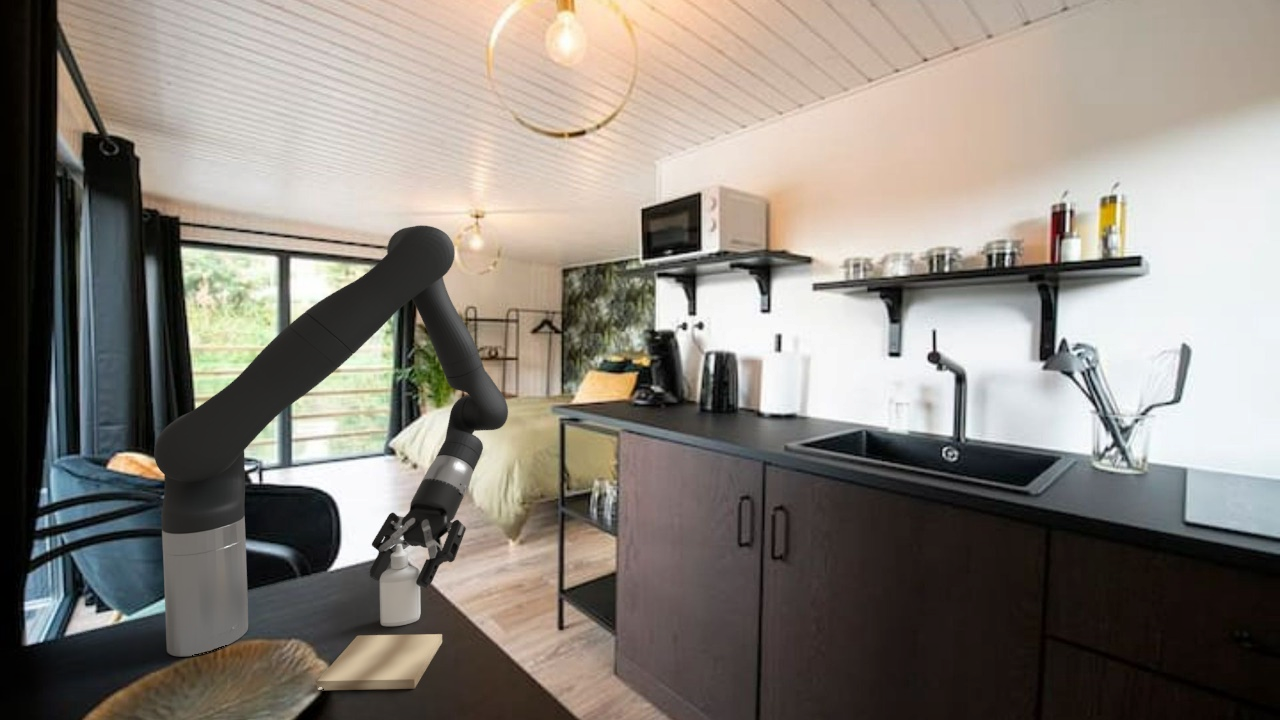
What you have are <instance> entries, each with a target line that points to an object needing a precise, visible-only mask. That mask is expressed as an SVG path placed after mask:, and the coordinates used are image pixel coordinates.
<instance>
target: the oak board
mask: <svg viewBox="0 0 1280 720" xmlns="http://www.w3.org/2000/svg"><path fill="white" fill-rule="evenodd" d="M442 643H443V634H442V633H437V634H436V633H435V634H430V633H429V634H428V633H426V634H377V635H376V634H372V635H371V634H370V635H368V634H367V635H366V634H365V635H357V636H355V638H354V639H353V640H352V641H351V642H350V644H349V645H348V646H347V647H346V648H345V649H344V650H343V651H342V653H340V655H339V656H337V658H336V659H335V660H334V661H333V663H332V664H330V666H329V667H327V669H326V670H325V671H324V672H323V674H322V675H321V676H320V677H319V678H318V679H317V681H316V689H317V688H319V687H322V688H324V690H323V691H353V690H354V691H355V690H363V691H365V690H408V689H410V690H411V689H413V690H414V689H416V687H417V686H418V683H419V682H420V680H421V678H422V677H423V675H424V674H425V672H426V670H427V668H428V667H429V665H430V663H431V661H432V660H433V659H434V657H435V655H436V654H437V652H438V651H439V649H440V646H442Z"/></svg>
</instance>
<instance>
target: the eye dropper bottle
mask: <svg viewBox="0 0 1280 720" xmlns="http://www.w3.org/2000/svg"><path fill="white" fill-rule="evenodd" d="M420 572H421V570H419V568H418V567H416V566H413V565H410V564H409V551H408V550H405V549H403V547H402V544H397V547H396V551H395V552H394V553H392V554H391V562H390V568H387V569H386V571H384V572H383V573H382V575H381V577H380V581H379V617H380V619H379V620H380V625H381V626H383V627H399V626H400V627H401V626H405V625H409V624H413V623H416V622H417V621H419V619H420V618H421V612H422V611H421V609H422V608H421V587H420V586H418V585H417V584H416V581H417V579H418V576H419V574H420Z"/></svg>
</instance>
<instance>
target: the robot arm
mask: <svg viewBox="0 0 1280 720" xmlns="http://www.w3.org/2000/svg"><path fill="white" fill-rule="evenodd" d="M386 252H387V253H386V255H385V256H384V257H383V258H382V259H381V260H380V261H379V262H378V263H377V264H375V266H373V267H372V268H371V269H370V270H369V271H367V272H366V273H365V274H363V275H362V276H360V277H359V278H357V279H356V280H354V281H352V282H351V283H348V284H347V285H345V286H343V287H341V288H340V289H338V290H336V291H333V293H331V294H329V295H327V296H326V297H324V298H323V299H321V300H320V301H318V302H317V303H315V304H313V306H311V307H310V308H308V309H307V310H306V311H304V312H303V313H302V314H301V315H299V316H298V317H297V318H296V319H294V320H293V321H292V322H291V323H290V324H289V325H287V326H286V327H285V328H284V329H283V330H281V331H280V333H279V334H278V335H276V336H275V337H274V338H273V339H272V340H271V342H269V343H268V344H267V345H265V347H264V348H263V349H262V350H261V352H259V354H257V356H256V357H255V358H254V359H253V360H252V361H251V362H250V364H248V365H247V367H246V368H245V369H244V370H243V371H242V372H241V373H240V374H239V375H238V376H237V377H236V378H235V379H234V380H233V381H232V382H230V383H228V385H226V386H225V387H224V388H222V389H221V390H220V391H218V392H216V394H214V395H213V396H212V397H210V398H209V399H207V400H206V401H205V402H203V403H202V404H200V405H199V406H198V407H195V409H193V410H191V411H190V412H187V413H185V414H182V415H181V416H178V418H176V419H174V420H173V421H172V422H171V423H169V424H168V425H167V426H166V427H164V429H163V430H162V431H161V432H160V434H159V435H158V437H157V439H156V442H155V445H154V452H153V454H154V455H153V456H154V460H155V464H156V466H157V468H158V469H159V471H161V473H162V474H163V477H164V492H163V501H162V507H161V508H162V509H161V521H160V522H161V538H162V541H161V542H162V543H161V544H162V556H163V557H162V558H163V559H162V563H163V564H162V565H163V583H164V584H163V585H164V613H165V637H166V639H165V640H166V642H165V643H166V652H167V654H168V655H171V656H173V657H180V658H181V657H192V655H193V656H195V655H194V654H198V653H201V652H205V651H207V650H212V649H214V648H218V647H221V646H224V647H226V646H225V645H227V646H228V645H230V644H232V643H234V642H236V641H238V640H239V639H240V638H242V637H243V636H244V635H245V634H246V633H247V631H249V630H248V629H249V609H248V608H249V607H248V605H249V604H248V601H249V600H248V576H247V575H248V572H247V568H248V567H247V548H246V547H247V545H246V540H247V539H246V522H245V521H246V520H245V519H246V517H245V516H246V515H245V514H246V513H245V498H246V479H245V478H246V477H245V476H246V472H245V450H246V448H248V446H250V444H251V443H252V442H253V441H254V440H255V439H256V437H258V436H259V434H260V433H261V432H263V430H265V428H266V427H267V426H268V425H269V424H270V423H271V422H272V421H273V420H274V419H276V417H277V416H279V415H280V414H281V413H283V411H285V410H286V409H287V408H288V407H290V406H291V405H292V404H294V403H295V402H297V401H298V400H300V399H301V398H302V397H304V396H305V395H306V394H308V392H310V391H312V390H313V389H314V388H315V387H317V386H318V385H320V384H321V383H322V382H323V381H324V380H326V378H327V377H329V376H330V375H331V374H333V373H334V372H335V371H336V370H337V369H339V368H340V367H341V366H342V365H343V364H344V363H345V362H346V361H348V359H349V358H351V357H352V356H353V355H354V354H356V353H357V351H358V350H360V348H361V347H362V346H364V345H365V344H366V342H368V341H369V340H370V339H371V338H372V337H373V336H374V335H375V334H376V333H378V331H379V330H380V329H381V328H382V327H383V326H384V325H385V324H386V323H387V322H388V321H389V320H390V319H391V318H392V317H393V316H394V315H395V314H396V313H397V312H398V311H399V310H400V309H401V308H402V307H403V306H404V305H407V303H409V302H410V301H411V300H412V302H413V304H414V306H415V307H416V309H417V312H418V314H419V315H420V318H421V320H422V322H423V325H424V327H425V329H426V331H427V333H428V336H429V338H430V341H431V343H432V346H433V348H434V351H435V354H436V356H437V358H438V361H439V364H440V365H441V368H442V372H443V373H444V376H445V378H446V381H447V383H448V385H449V387H451V389H454V390H457V391H461V392H464V393H466V394H467V395H463V396H461V397H459V399H457V401H456V402H455V403H454V404H453V406H452V408H451V410H450V415H449V418H448V424H447V429H446V434H445V439H444V442H443V443H442V445H441V447H440V448H439V451H438V453H437V454H436V457H435V458H434V460H433V461H432V462H431V465H429V467H428V468H427V470H426V472H425V474H424V477H423V478H422V480H421V482H420V484H419V486H418V488H417V490H416V491H415V493H414V495H413V497H412V499H411V502H410V507H409V511H408V513H407V514H406V515H405V516H401V515H397V513H395V512H391V513H389V514H388V516H387V517H386V519H385V521H384V522H383V524H382V525H381V528H380V529H379V530H378V532H377V534H376V536H375V537H374V539H373V540H372V542H371V546H372V547H373V548H374V549H375V550H377V552H378V553H377V556H376V558H375V559H374V561H373V564H372V565H371V567H370V569H369V577H370V578H371V579H373V581H377V582H378V581H379V582H380V577H381V575H382V573H383V572H384V571H386V570H387V569H389V568H388V567H389V566H390V565H391V554H392V553H394V552H395V551H396V547H397V544H402V547H403V550H405V549H407V548H408V547H409V546H410V547H422V548H425V549H427V552H428V558H426V560H425V562H424V564H423V565H422V568H421V570H420V574H419V576H418V579H417V581H416V584H417V585H418V586H420V589H427V588H428V586H429V585H431V584H432V583H433V580H434V578H435V576H436V573H437V571H438V570H439V567H440V565H442V564H443V563H446V562H448V563H453V562H454V561H455V559H456V557H457V554H458V551H459V549H460V546H461V543H462V541H463V539H464V535H465V533H466V530H467V528H466V526H465V525H464V523H462V522H461V521H460V520H459V519H455V517H456V514H457V513H458V510H459V508H460V505H461V503H462V501H463V499H464V497H465V494H466V492H467V490H468V488H469V486H470V482H471V481H472V476H473V473H474V471H475V469H476V467H477V465H478V463H479V461H480V458H481V456H482V453H483V449H484V445H483V444H484V443H483V441H481V439H480V438H479V437H478V436H476V435H475V434H474V432H477V431H496V430H499V429H501V428H502V427H503V426H505V424H506V422H507V421H508V417H509V416H508V415H509V409H508V408H509V407H508V404H507V401H506V398H505V396H504V395H503V393H502V391H500V389H499V387H498V386H497V385H496V383H495V382H494V380H493V378H492V377H491V376H490V375H489V373H488V372H487V371H486V370H485V367H484V364H483V361H482V358H481V356H480V353H479V351H478V347H477V346H476V343H475V341H474V338H473V337H472V334H471V333H470V330H469V328H468V327H467V326H466V324H465V322H464V320H463V319H462V317H461V316H460V314H459V313H458V311H457V309H456V307H455V305H454V304H453V301H452V299H451V298H450V294H449V293H448V290H447V288H446V284H445V281H444V276H445V275H447V273H448V272H449V271H450V269H451V268H452V266H453V263H454V261H455V254H456V253H455V246H454V243H453V241H452V239H451V237H450V236H449V235H448V234H447V233H446V232H445V231H443V230H442V229H439V228H437V227H434V226H430V225H422V224H421V225H415V226H409V227H404V228H401V229H399V230H397V231H396V232H394V233H393V235H391V237H390V239H389V240H388V243H387V249H386ZM445 534H446V535H447V536H446V538H445V541H444V543H443V544H442V539H441V538H442V537H443V536H444V535H445ZM402 537H403V539H401V538H402Z"/></svg>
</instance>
